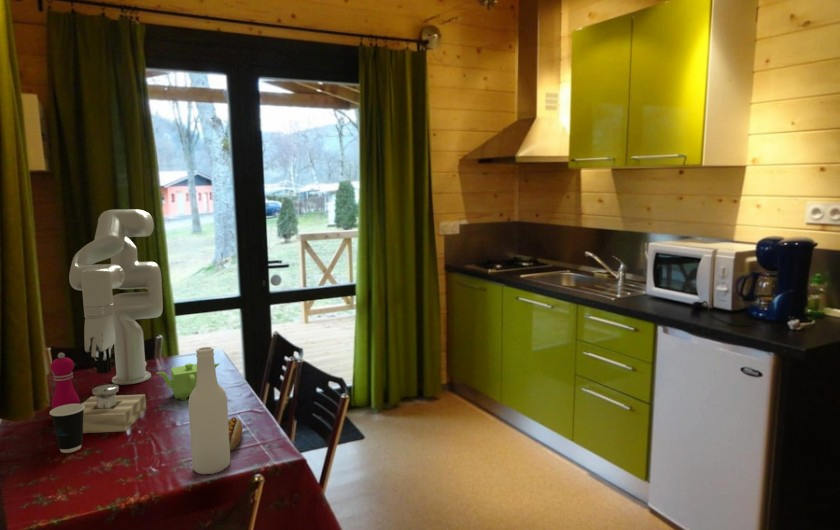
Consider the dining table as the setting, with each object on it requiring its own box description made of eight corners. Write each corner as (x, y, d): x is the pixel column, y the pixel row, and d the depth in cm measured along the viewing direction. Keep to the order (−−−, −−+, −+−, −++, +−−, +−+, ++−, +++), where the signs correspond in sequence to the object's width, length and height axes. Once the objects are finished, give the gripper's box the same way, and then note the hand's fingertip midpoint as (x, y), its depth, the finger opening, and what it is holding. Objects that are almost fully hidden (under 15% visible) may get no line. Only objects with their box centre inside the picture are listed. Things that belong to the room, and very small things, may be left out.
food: (224, 432, 162) (223, 416, 162) (244, 431, 163) (243, 414, 163) (216, 455, 149) (215, 436, 148) (238, 453, 150) (237, 434, 149)
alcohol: (225, 475, 138) (218, 353, 134) (187, 476, 137) (179, 354, 133) (234, 458, 147) (228, 343, 143) (198, 459, 146) (191, 344, 142)
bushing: (101, 417, 174) (98, 384, 172) (124, 416, 174) (122, 383, 173) (90, 426, 167) (87, 392, 166) (115, 425, 168) (112, 391, 166)
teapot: (157, 400, 187) (155, 369, 186) (182, 387, 200) (180, 357, 199) (200, 403, 184) (198, 371, 183) (222, 389, 197) (220, 359, 196)
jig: (92, 412, 178) (91, 396, 177) (146, 409, 179) (145, 394, 179) (66, 433, 162) (64, 416, 161) (125, 431, 164) (124, 414, 163)
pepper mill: (67, 422, 170) (61, 356, 167) (46, 420, 171) (40, 355, 169) (86, 413, 177) (80, 350, 174) (66, 411, 179) (60, 348, 176)
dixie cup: (50, 457, 148) (46, 416, 146) (56, 445, 155) (52, 406, 153) (86, 452, 151) (82, 411, 149) (89, 440, 158) (86, 401, 156)
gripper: (97, 305, 174) (102, 364, 176) (72, 317, 158) (78, 381, 161) (123, 305, 174) (128, 364, 177) (100, 316, 159) (106, 380, 162)
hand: (104, 372), depth 169 cm, fingers closed
